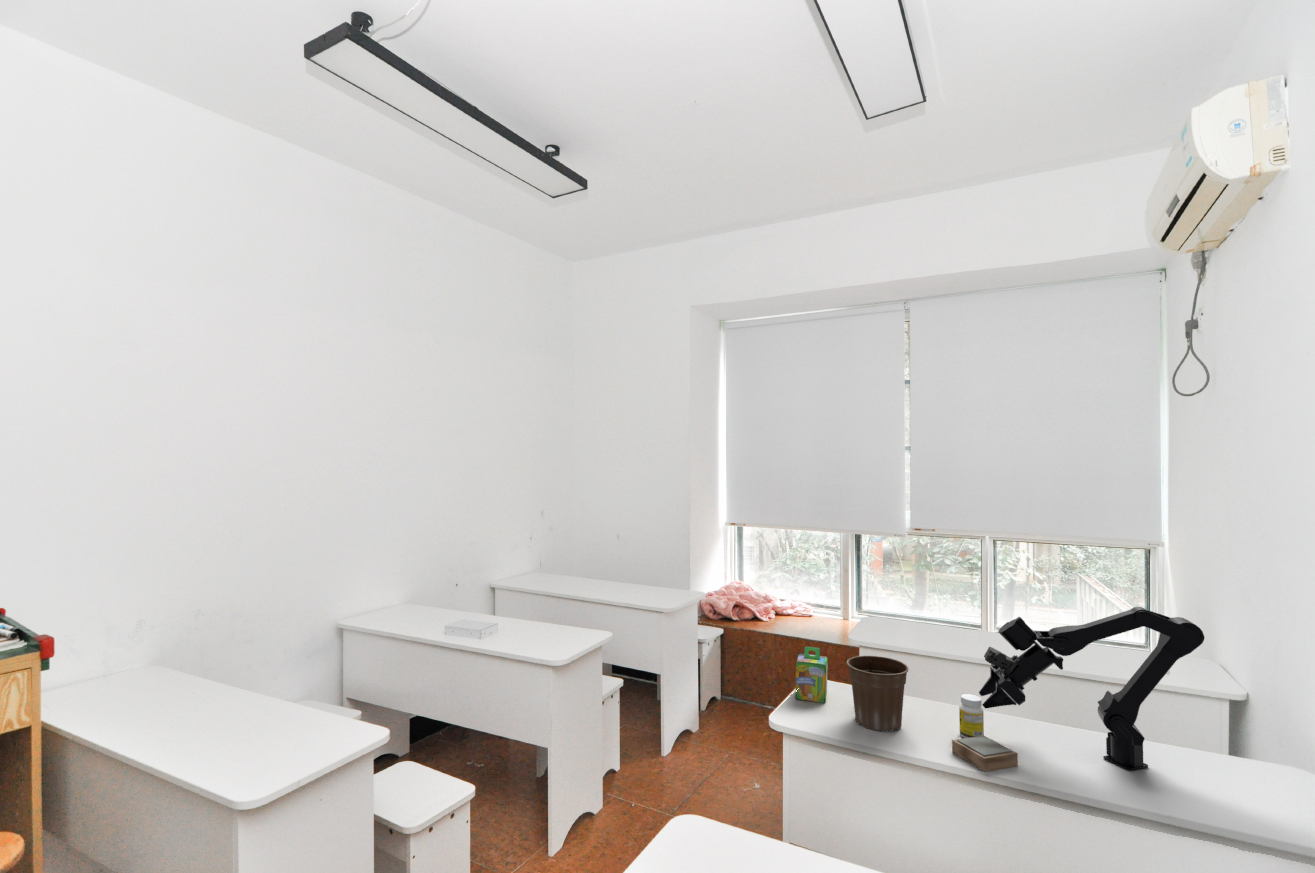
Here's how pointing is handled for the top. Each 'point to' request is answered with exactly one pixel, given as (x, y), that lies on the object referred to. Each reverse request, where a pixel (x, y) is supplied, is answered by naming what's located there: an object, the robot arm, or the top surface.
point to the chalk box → (811, 676)
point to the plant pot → (878, 691)
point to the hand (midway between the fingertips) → (981, 700)
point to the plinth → (984, 753)
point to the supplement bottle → (971, 716)
